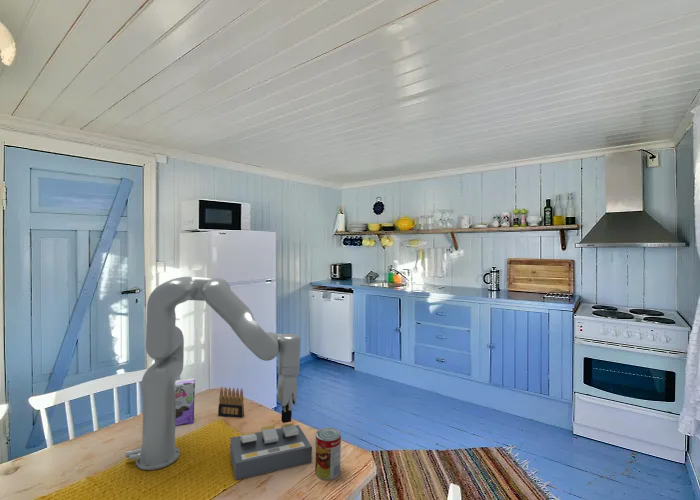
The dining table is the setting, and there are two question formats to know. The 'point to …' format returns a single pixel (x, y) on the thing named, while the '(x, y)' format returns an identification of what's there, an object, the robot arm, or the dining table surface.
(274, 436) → the rocker middle
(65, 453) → the dining table surface
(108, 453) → the dining table surface
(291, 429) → the rocker right
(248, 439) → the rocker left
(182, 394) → the candy box
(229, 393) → the ammunition clip
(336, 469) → the canned food
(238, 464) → the switch unit
